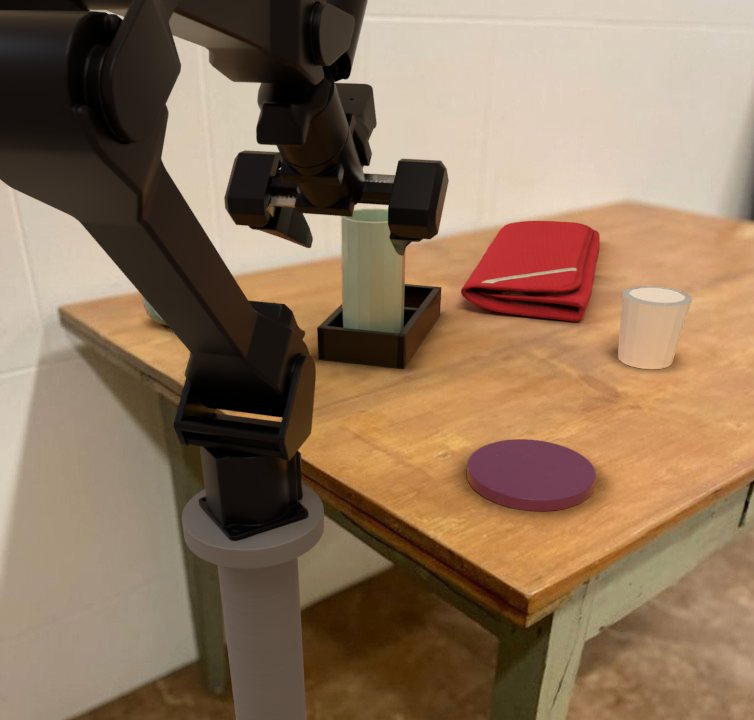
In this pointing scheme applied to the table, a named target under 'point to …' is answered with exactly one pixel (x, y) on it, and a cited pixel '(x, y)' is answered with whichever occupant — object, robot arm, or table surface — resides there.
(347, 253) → the tumbler
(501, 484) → the lid
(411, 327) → the compartment tray
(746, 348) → the table surface
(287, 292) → the table surface
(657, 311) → the white cup
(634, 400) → the table surface
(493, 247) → the dish drying mat
